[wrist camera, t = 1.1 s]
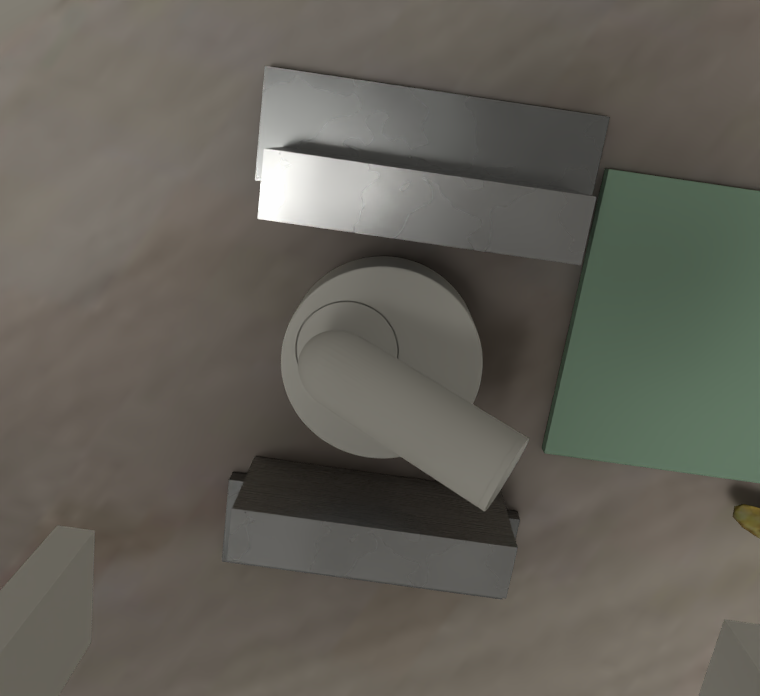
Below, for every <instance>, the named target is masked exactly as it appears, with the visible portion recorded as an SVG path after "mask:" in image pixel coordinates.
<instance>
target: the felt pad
mask: <svg viewBox="0 0 760 696" xmlns="http://www.w3.org/2000/svg"><path fill="white" fill-rule="evenodd" d="M542 449H543V451H544V453H546V454H554V455H561V456H568V457H575V458H582V459H589V460H597V461H604V462H611V463H618V464H625V465H632V466H640V467H647V468H654V469H661V470H668V471H675V472H683V473H690V474H697V475H704V476H711V477H718V478H726V479H733V480H740V481H747V482H754V483H760V191H755V190H748V189H742V188H735V187H728V186H721V185H714V184H707V183H701V182H694V181H687V180H680V179H673V178H667V177H660V176H653V175H646V174H639V173H633V172H626V171H619V170H612V169H605V171H604V175H603V179H602V184H601V188H600V193H599V197H598V202H597V206H596V210H595V215H594V219H593V224H592V228H591V233H590V237H589V241H588V246H587V250H586V255H585V259H584V264H583V268H582V272H581V277H580V281H579V286H578V290H577V295H576V299H575V303H574V308H573V312H572V317H571V321H570V326H569V330H568V334H567V339H566V343H565V348H564V352H563V357H562V361H561V365H560V370H559V374H558V379H557V383H556V388H555V392H554V396H553V401H552V405H551V410H550V414H549V419H548V423H547V427H546V432H545V436H544V441H543V445H542Z"/></svg>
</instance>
